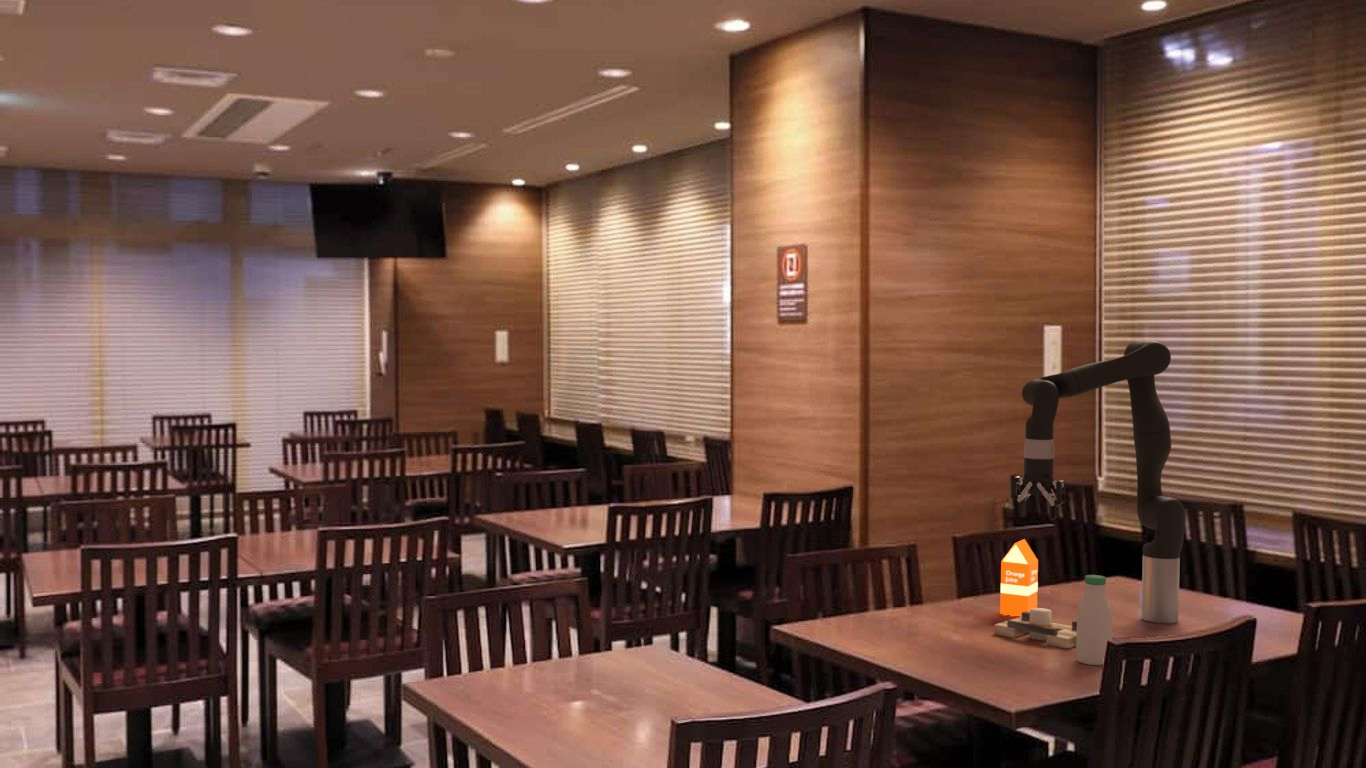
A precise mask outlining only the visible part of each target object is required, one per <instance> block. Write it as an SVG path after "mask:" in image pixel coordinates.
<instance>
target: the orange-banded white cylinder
mask: <svg viewBox="0 0 1366 768" xmlns="http://www.w3.org/2000/svg"><path fill="white" fill-rule="evenodd" d="M1051 622H1052V610H1051V609H1048V608H1042V607H1037V608H1031V609H1030V621H1029V624H1034V625H1040V626H1045V627H1050V628H1051V627H1052V623H1053V622H1052V623H1051ZM1028 635H1029V637H1030V638H1029V637H1028V638H1029V639H1031V638H1032V640H1035V639H1037V640H1036V641H1047V635H1046V634H1041V633H1036V632H1031V631H1029V633H1028Z"/></svg>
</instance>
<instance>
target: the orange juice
mask: <svg viewBox="0 0 1366 768" xmlns="http://www.w3.org/2000/svg"><path fill="white" fill-rule="evenodd" d="M1000 565H1001V566H1000V608H999V609H1000V611H999V612H1000V613H999V614H1003V615H1002V616H1007V615H1010V616H1009V617H1014V616H1021V617H1022V612H1024V611H1028V612H1030V609H1031V608H1038V589H1039V588H1038V587H1039V582H1038V581H1039V580H1038V579H1039V578H1038V577H1039V576H1038V573H1039V559H1038V558H1037V557H1036V555H1035V553H1034V552H1033V550H1032V549H1031V546H1030V545H1029V543H1028V542H1027V540H1026V539H1025V538H1024V539H1021V540H1019V541H1017V542H1014V544H1013V545H1012V547H1011V548H1010V549H1009V551H1008V552H1007V553H1006V555H1005V556H1004V557H1003V558H1002V560H1001V562H1000Z"/></svg>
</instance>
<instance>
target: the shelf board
mask: <svg viewBox="0 0 1366 768" xmlns="http://www.w3.org/2000/svg"><path fill="white" fill-rule="evenodd" d="M1029 621H1030V612H1028V611H1024V612H1022V617H1015V618H1013V619H1008V620H1005V621H1002V622H999V623H996V624H994V635H998V636H1003V637H1008V638H1014V639H1015V638H1018V637H1020V636H1024V634H1025V635H1027V633H1028V634H1029V631H1031V632H1036V633H1041V634H1046V635H1047V640H1046V645H1047V644H1049V645H1048V646H1052V645H1053V646H1052V647H1057V646H1058V648H1063V649H1067V648H1068V649H1070V648H1074V647H1076V638H1077V619H1076V620H1073V621H1072V622H1071V625H1068V624H1067V625H1066V624H1061V623H1056V622H1052V621H1051V623H1052V627H1051V628H1050V627H1045V626H1040V625H1034V624H1029ZM1073 646H1074V647H1073Z"/></svg>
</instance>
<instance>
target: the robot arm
mask: <svg viewBox="0 0 1366 768" xmlns="http://www.w3.org/2000/svg"><path fill="white" fill-rule="evenodd" d="M1171 356H1172V355H1171V352H1170V350H1169V347H1167V345H1165V343H1162V342H1160V341H1156V340H1144V339H1143V340H1142V339H1137V340H1133V341H1131V342H1130V343H1129V344H1128V345H1127V346H1126V347H1125V350H1124V352H1123V355H1122V356H1119V357H1116V358H1111V359H1107V360H1102V361H1097V362H1091V363H1087V364H1083V365H1079V366H1077V367H1074V368H1071V369H1067V370H1065V371H1062V372H1060V373H1059V372H1058V373H1057V374H1056V373H1055V374H1050V375H1046V376H1041V377H1038V378H1034V379H1032V380H1030V381H1028V382H1027V383H1026V384H1025V385H1024V386H1023V388H1022V391H1021V396H1022V399H1023V401H1024V402H1025V403H1026V404H1027V405H1029V406H1032V409H1031V416H1028V417H1027V418H1026V421H1025V439H1024V440H1025V441H1024V447H1023V477H1021V476H1019V475H1018V476H1013V477H1012V481H1011V483H1012V484H1011V493H1010V497H1011V499H1012V500H1015V501H1017V502H1018V505H1017V506H1018V507H1017V508H1018V509H1017V513H1018V514H1019V517H1021V518H1022V517H1023V518H1024V517H1025V518H1026V517H1027V499H1028V498H1029V497H1030V496H1035V495H1036V496H1038V497H1039V496H1042V497H1043V496H1044V498H1045V499H1046V500H1047V502H1048V503H1049V518H1048V519H1049V520H1050V521H1056V519H1057V518H1058V516H1059V506H1060V505H1063V504H1065V503H1066V482H1065V481H1066V480H1063V479H1062V480H1055V479H1054V474H1055V473H1054V469H1055V445H1054V430H1055V427H1054V422H1055V420H1056V415H1057V410H1058V407H1059V401H1060V399H1062V398H1072V397H1073V398H1074V397H1076V396H1079V395H1082V394H1086V393H1088V392H1091V391H1094V390H1097V389H1100V388H1103V387H1105V386H1109V385H1112V384H1115V383H1119V382H1122V381H1127V385H1128V390H1129V398H1130V408H1131V409H1130V410H1131V418H1132V433H1133V441H1134V442H1133V444H1134V445H1133V446H1134V450H1135V465H1136V479H1137V480H1136V483H1137V487H1136V488H1137V489H1136V511H1137V512H1136V513H1137V518H1138V521H1139V522H1140V524H1141V525H1142V526H1143V527H1144V528H1147V529H1150V530H1155V533H1154V539H1153V540H1152V541H1150V542H1147V543H1145V544H1143V547H1142V568H1141V569H1142V572H1141V573H1142V575H1141V579H1142V580H1141V616H1140V617H1141V618H1140V619H1142V620H1144V621H1146V622H1150V623H1157V624H1175V623H1178V622H1179V607H1180V606H1179V603H1180V602H1179V601H1180V597H1179V596H1180V561H1181V558H1180V557H1181V556H1180V555H1181V550H1182V549H1183V547H1184V546H1183V545H1184V539H1185V538H1184V537H1185V526H1186V512H1185V511H1186V510H1185V508H1184V504H1183V503H1182V502H1181V501H1180V500H1178V499H1177V498H1174V497H1170V496H1163V492H1162V474H1163V470H1164V468H1165V465H1166V462H1167V460H1168V458H1169V456H1170V454H1171V451H1172V450H1171V449H1172V438H1171V437H1172V436H1171V427H1170V426H1171V425H1170V422H1169V418H1168V416H1167V413H1166V411H1165V409H1164V406H1163V405H1162V403H1161V400H1160V399H1159V396H1158V393H1157V392H1158V391H1157V389H1156V382H1155V381H1156V379H1155V376H1157V375H1160V374H1162V373H1163V372H1165V371H1166V370H1167V369H1168V367H1170V363H1171V360H1172V359H1171V358H1172V357H1171ZM1022 485H1024V488H1023V490H1022V491H1021V486H1022ZM1053 487H1054V489H1055V490H1056V491H1055V492H1054V490H1053Z"/></svg>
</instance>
